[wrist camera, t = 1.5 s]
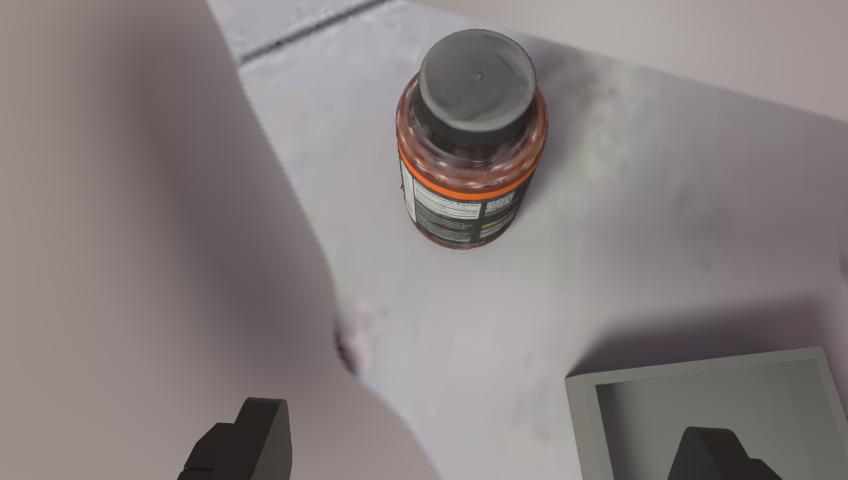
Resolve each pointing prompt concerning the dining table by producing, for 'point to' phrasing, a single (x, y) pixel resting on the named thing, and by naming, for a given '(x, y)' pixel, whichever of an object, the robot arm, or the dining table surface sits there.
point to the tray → (712, 414)
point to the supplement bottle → (469, 137)
